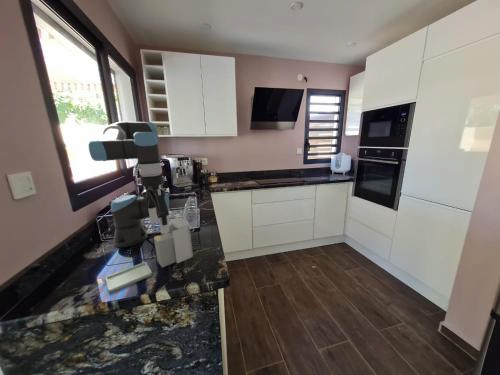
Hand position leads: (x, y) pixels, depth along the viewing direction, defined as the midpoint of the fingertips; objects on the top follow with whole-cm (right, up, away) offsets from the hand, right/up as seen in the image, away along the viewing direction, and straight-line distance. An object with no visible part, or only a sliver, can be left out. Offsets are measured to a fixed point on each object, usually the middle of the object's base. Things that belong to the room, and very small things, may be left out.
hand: (159, 227), depth 78 cm
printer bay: (+5, -14, +9) cm, 17 cm away
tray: (-9, -18, -5) cm, 20 cm away
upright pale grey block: (+3, -15, +5) cm, 16 cm away
